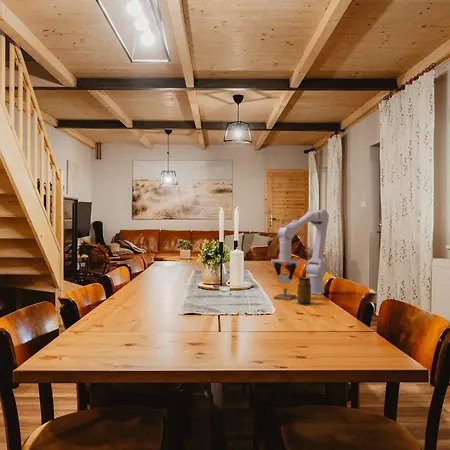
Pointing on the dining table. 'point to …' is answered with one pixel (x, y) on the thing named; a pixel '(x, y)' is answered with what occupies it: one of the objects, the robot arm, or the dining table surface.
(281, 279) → the block with square hole
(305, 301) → the condiment
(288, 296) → the block
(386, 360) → the dining table surface
